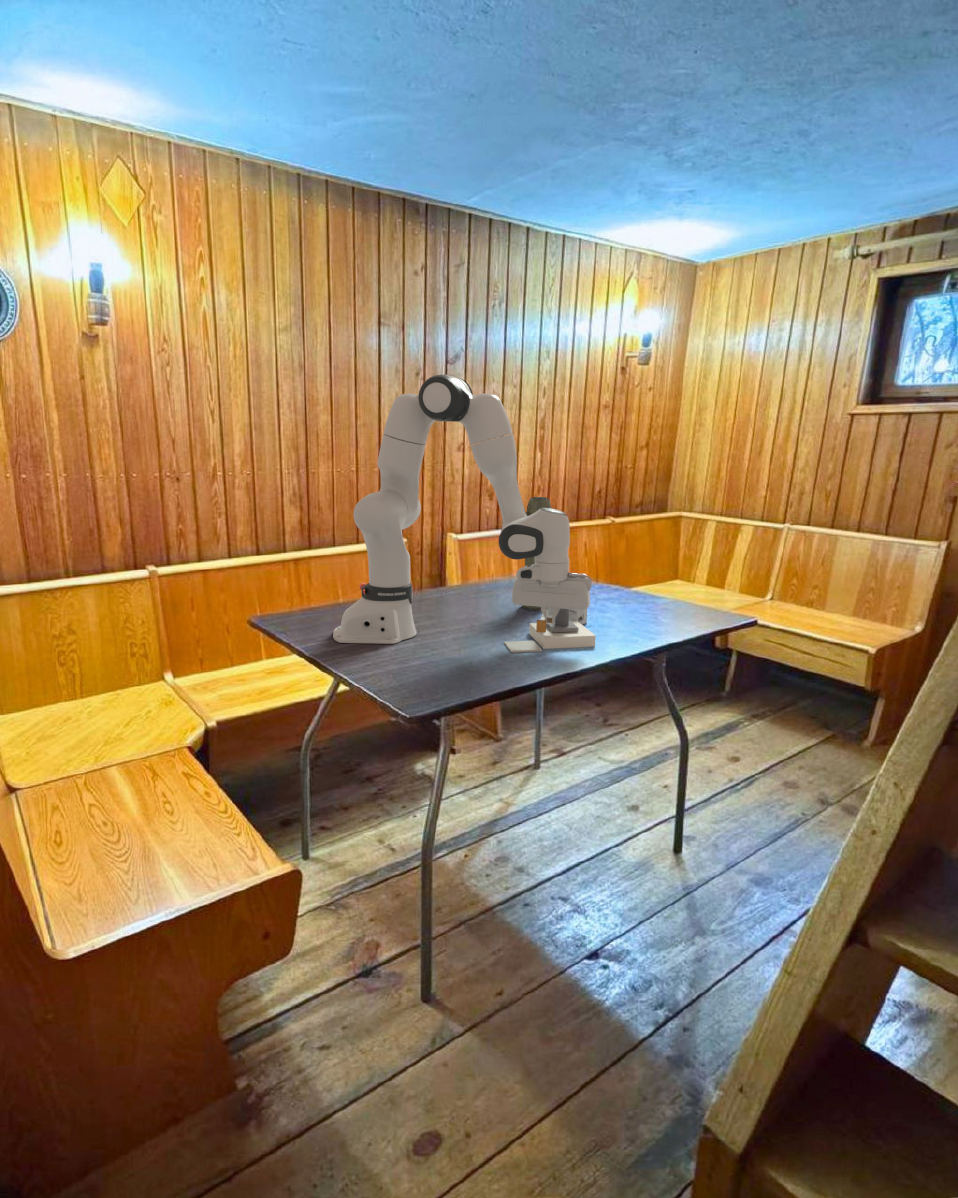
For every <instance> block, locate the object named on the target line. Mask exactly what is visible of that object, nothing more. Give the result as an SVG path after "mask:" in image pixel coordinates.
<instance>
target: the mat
mask: <svg viewBox="0 0 958 1198" xmlns="http://www.w3.org/2000/svg"><path fill="white" fill-rule="evenodd" d="M503 643H504V645H505V647H506V648H507V649H508V650H509V652H511V654H515V653H517V654H519V653H535V652H536V653H538V652H543V648H542V647H541V646H540V645H539V644H538V643H537V641H536V640H519V641H518V640H517V641H516V640H513V641H504V642H503Z"/></svg>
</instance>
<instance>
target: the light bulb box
mask: <svg viewBox="0 0 958 1198" xmlns="http://www.w3.org/2000/svg"><path fill="white" fill-rule="evenodd" d="M546 611H548V615H549V616H553V615H554V613H555V612H553V608H550V607H548V609H547V610H546ZM587 619H588V608H587V609H586V610H575V609H569V621H571V622H577V621H578V622H579V623H580V624H582V625H583V626H584V624H587Z"/></svg>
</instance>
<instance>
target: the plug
mask: <svg viewBox="0 0 958 1198" xmlns="http://www.w3.org/2000/svg"><path fill="white" fill-rule="evenodd" d="M546 626H547V627H548V628H549V629H550V630H551V631H552V632H578V629H579V628H578V627H577V626H576V625H575V624H573V623H572V622H571V621H569V609H562V608H560V611H559V612H558V614H557V616H556V617H555V624H546Z"/></svg>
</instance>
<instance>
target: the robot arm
mask: <svg viewBox="0 0 958 1198" xmlns="http://www.w3.org/2000/svg"><path fill="white" fill-rule="evenodd" d="M420 386H421V387H420V388H419V392H418V394H414V393H402V394H400V395H397V397H396V398H395V399H394V401H393V402H392V405H391V408H390V410H389V413H388V416H387V419H386V422H385V425H384V430H383V434H382V439H381V444H380V447H379V448H380V449H379V454H378V456H377V467H378V469H379V473H380V489H379V491H376V492H371V493H369V494H367V495H366V496H364V497H362V498H361V499H360V500H359V501H358V502H357V503H356V504H355V506H354V507H353V520H354V523H355V526H356V527H357V529H359V530H360V531H361V533H362V536H363V540H364V543H365V547H366V552H367V561H368V562H367V563H368V583H366V582H360V584H359V590H360V591H361V598H360V599H358V600H357V601H356V602H354V603H353V604H351V605H350V606H349V607H348V608H346V609H345V611H344V612H343V614H342V617H341V622H340V625H338V626H337V627H335V628H334V630H333V635H332V637H333V640H335V641H336V642H337V643H340V644H343V643H344V644H387V645H388V644H391V645H392V644H398V643H400V642H401V641H404V640H408V639H411V638H413V637H415V636H416V635H417V633H418V632H417V629H416V625H415V622H414V616H413V611H412V604H413V593H414V592H413V584H412V582H411V555H410V553H409V550H407V548H406V544H405V542H404V536H403V530H404V529H407V528H409V527H411V526H412V525H413V524H414V523H415V522H416V521H417V520H418V519H419V517H420V516H421V515H420V514H421V511H422V505H421V502H420V500H419V495H420V494H419V492H420V491H419V489H420V487H419V486H420V484H419V483H420V473H421V467H422V464H423V459H424V455H425V449H426V445H427V441H428V436H429V432H430V429H431V428H432V426H433V424H434V423H435V422H436V421H437V422H445V423H446V422H451V423H452V422H459V423H460V424H462V425H463V428H464V429H465V431H466V434H467V438H468V442H469V446H470V450H471V453H472V455H473V458H474V461H475V463H476V465H477V468H478V469H479V471H480V472H481V474H483V476H484V477H485V478H486V479H487V480H488V481H489V483H490V484H491V485H492V487H493V490H494V492H495V496H496V500H497V504H498V506H499V509H500V514H501V517H502V518H501V519H502V520H501V521H502V524H501V530H500V533H499V536H498V547H499V549H500V551H501V553H502V554H503V555H504V557H505V556H506V557H507V558H509V559H511V560H518V561H519V560H525V558H531V557H535V564H532V565H528V566H525V565H524V566H522V567H520V568H518V570H517V571H516V578H517V579H516V580H515V581H514V582H513V585H512V592H511V602H512V603H513V605H516V606H522V605H525V606H537V607H541V610H540V612H541V613H542V614H543V615H544V617H545V620H546V624H555V617H556V616H557V614H558V612H559V611H560V608H562V609H575V610H586V609H587V610H588V608H589V607H590V605H591V595H590V590H591V589H592V582H593V581H592V579H591V577H590V576H589V575H587V574H586V573H576V572H570V558H569V548H570V545H571V544H570V543H571V542H570V541H571V539H570V538H571V532H570V531H571V530H570V529H571V528H570V519H569V517H568V515H567V514H566V513H565V512H563V511H562V510H559V509H557V508H556V509H555V508H552V507H551V508H540V509H539V510H538V511H537V512H535V513H533V514H531V515H530V516H528V515H527V514H526V512H527V511H526V510H525V506H524V502H523V499H522V495H521V491H520V488H519V487H520V486H519V483H518V478H517V475H518V473H517V471H518V470H517V469H518V468H517V467H518V460H517V459H518V458H517V457H518V455H517V447H516V446H517V445H516V441H515V436H514V434H513V433H514V432H513V428H512V425H511V423H510V422H511V421H510V419H509V417H508V414H507V411H506V408H505V407H504V405H503V403H502V400H501V399H500V398H499V397H498V396H497V395H496V394H493V393H479V394H473V389H472V388H471V386H470V384H469V383H468V382H466V380H464V379H463V378H461V377H458V376H455V375H454V374H453V375H452V374H436V375H432V376H431V377H429V378H427V379H426V380H425V381H424V382H423V383H422V385H420ZM548 607H550V608H553V612H555V613H554V615H553V616H549V615H548V613H547V611H546V610H547V609H548ZM542 614H541V615H542Z"/></svg>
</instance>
